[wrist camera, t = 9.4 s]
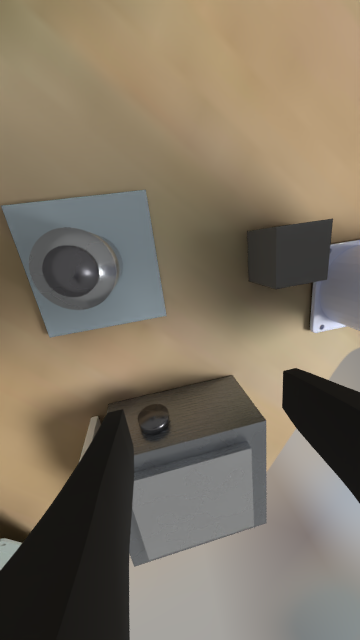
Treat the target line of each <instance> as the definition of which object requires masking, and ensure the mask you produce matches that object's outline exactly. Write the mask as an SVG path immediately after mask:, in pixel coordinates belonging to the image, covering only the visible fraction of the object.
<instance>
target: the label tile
mask: <svg viewBox="0 0 360 640" xmlns="http://www.w3.org/2000/svg"><path fill="white" fill-rule="evenodd" d="M100 426H101V424H100V421H99V417H98V416H95V417H91V420H90V424H89V427H88V431H87V435H86V438H85V442H84V445H83V449H82V453H81V456H80V460H81V459H82V457H83V455H84V453H85V452H86V450H87V448H88V447H89V445H90V443H91V442H92V440H93V438H94V436H95V435H96V433H97V431H98V429H99V427H100ZM80 460H79V462H80Z"/></svg>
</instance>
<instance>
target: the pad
mask: <svg viewBox="0 0 360 640" xmlns="http://www.w3.org/2000/svg"><path fill="white" fill-rule="evenodd" d="M1 207H2V210H3V212H4V215H5V218H6V220H7V223H8V226H9V229H10V231H11V234H12V237H13V239H14V242H15V245H16V248H17V250H18V253H19V256H20V258H21V261H22V264H23V266H24V269H25V272H26V275H27V277H28V280H29V283H30V285H31V288H32V291H33V294H34V296H35V299H36V302H37V304H38V307H39V310H40V312H41V315H42V318H43V321H44V323H45V326H46V329H47V331H48V334H49V337H55V336H61V335H66V334H71V333H77V332H82V331H87V330H93V329H98V328H103V327H109V326H114V325H119V324H125V323H130V322H136V321H141V320H146V319H152V318H157V317H162V316H166V310H165V304H164V298H163V291H162V285H161V279H160V273H159V267H158V261H157V255H156V249H155V243H154V237H153V231H152V225H151V219H150V213H149V207H148V201H147V195H146V190H139V191H130V192H121V193H112V194H103V195H94V196H85V197H76V198H67V199H58V200H49V201H39V202H30V203H21V204H12V205H3V206H1ZM63 227H71V228H77V229H81V230H84V231H87V232H90V233H93V234H96V235H99V236H102V237H104V238H106V239H108V240H109V241H110V242H112V243H113V244H114V245H115V247H116V248H117V249H118V251H119V253H120V255H121V258H122V262H123V270H122V274H121V277H120V279H119V281H118V282H117V284H116V285H115V287H114V289H113V290H112V292H111V293H110V295H109V296H108V297H107V298H106V299H105V300H104V301H103V302H102V303H100V304H99V305H97V306H95V307H93V308H89V309H85V310H71V309H66V308H63V307H60V306H58V305H56V304H54V303H52V302H50V301H49V300H48V299H46V298H45V297H44V296H43V295H42V294H41V293H40V292H39V290H38V289H37V288H36V286H35V284H34V282H33V280H32V278H31V275H30V271H29V257H30V252H31V250H32V247H33V246H34V244H35V242H36V241H37V240H38V239H39V238H40V237H41V236H42V235H44V234H45V233H47V232H49V231H51V230H53V229H57V228H63Z"/></svg>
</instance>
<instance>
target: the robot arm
mask: <svg viewBox="0 0 360 640" xmlns="http://www.w3.org/2000/svg"><path fill="white" fill-rule="evenodd" d="M320 326H321V327H320ZM346 326H348V327H351V328H354V329H356V330H359V331H360V240H354V241H348V242H342V243H336V244H330V255H329V266H328V277H327V280H323V281H317V282H313V291H312V305H311V319H310V330H311V331H312V332H314V333H318V332H323V331H327V330H332V329H336V328H341V327H346ZM282 408H283V409H284V411H285V412H286V414H287V415H288V417H289V418H290V420H291V421H292V422H293V424H294V425H295V427H296V428H297V429H298V431H299V432H300V433H301V434H302V435H303V436H304V437H305V439H306V440H307V441H308V442H309V443H310V444H311V446H312V447H313V448H314V449H315V450H316V451H317V453H319V455H320V456H321V457H322V458H323V459H324V461H325V462H326V463H327V464H328V465H329V466H330V467H331V468H332V470H333V471H334V472H335V473H336V474H337V475H338V477H339V478H340V479H341V480H342V481H343V482H344V484H345V485H346V486H347V487H348V488H349V490H350V491H351V492H352V494H353V495H354V496H355V498H356V499H357V500H358V501H359V503H360V392H358V391H355V390H352V389H350V388H347V387H344V386H342V385H339V384H336V383H334V382H332V381H329V380H326V379H324V378H321V377H319V376H316V375H314V374H311V373H308V372H306V371H303V370H300V369H297V368H294V369H290V370H286V371H283V401H282ZM133 488H134V446H133V442H132V439H131V435H130V432H129V428H128V424H127V421H126V417H125V414H124V410H123V409H121V410H116V411H112V412H108V413H107V415H106V416H105V418H104V420H103V422H102V424H101V426H100V427H99V429H98V431H97V433H96V435H95V436H94V438H93V440H92V442H91V443H90V445H89V447H88V448H87V450H86V452H85V453H84V455H83V457H82V459H81V460H80V462H79V463H78V465H77V467H76V468H75V470H74V471H73V473H72V474H71V476H70V477H69V479H68V480H67V482H66V484H65V485H64V487H63V488H62V490H61V491H60V493H59V494H58V496H57V497H56V498H55V500H54V501H53V503H52V504H51V506H50V507H49V508H48V510H47V511H46V513H45V514H44V515H43V517H42V518H41V519H40V521H39V522H38V523H37V525H36V526H35V527H34V529H33V530H32V531H31V533H30V534H29V535H28V536H27V538H26V539H25V540H24V542H23V543H22V544H21V545H20V547H19V548H18V549H17V550H16V552H15V553H14V554H13V555H12V557H11V558H10V559H9V560H8V562H7V563H6V564H5V565H4V567H3V568H2V569H1V570H0V640H129V548H130V532H131V518H132V503H133Z"/></svg>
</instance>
